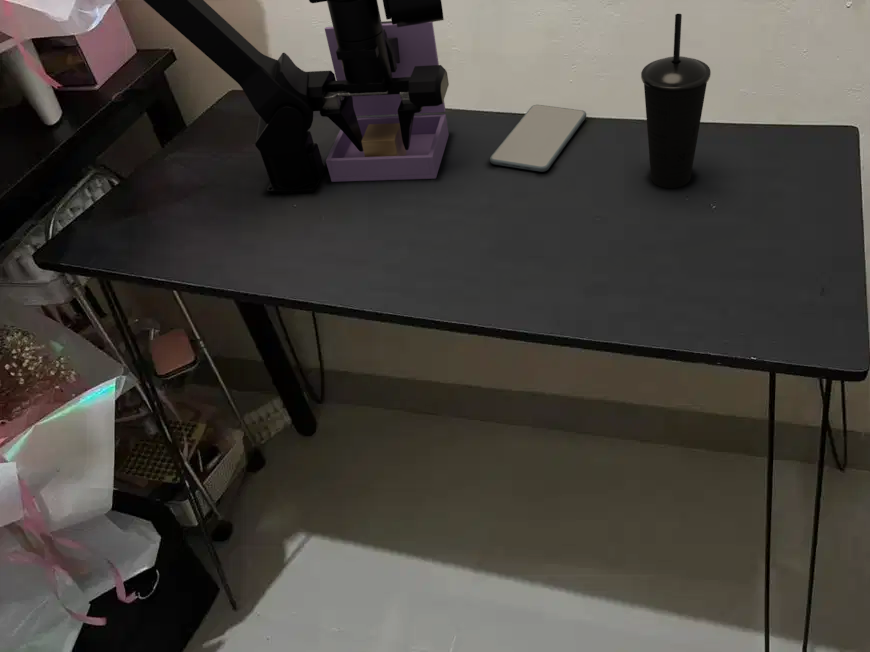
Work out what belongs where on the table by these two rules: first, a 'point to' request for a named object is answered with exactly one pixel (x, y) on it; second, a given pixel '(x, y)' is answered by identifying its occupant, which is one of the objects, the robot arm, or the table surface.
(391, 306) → the table surface
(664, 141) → the drinking cup
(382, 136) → the block
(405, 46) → the purple hinged lid
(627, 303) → the table surface
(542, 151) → the smartphone
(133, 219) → the table surface
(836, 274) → the table surface
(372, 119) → the purple box
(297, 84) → the robot arm
